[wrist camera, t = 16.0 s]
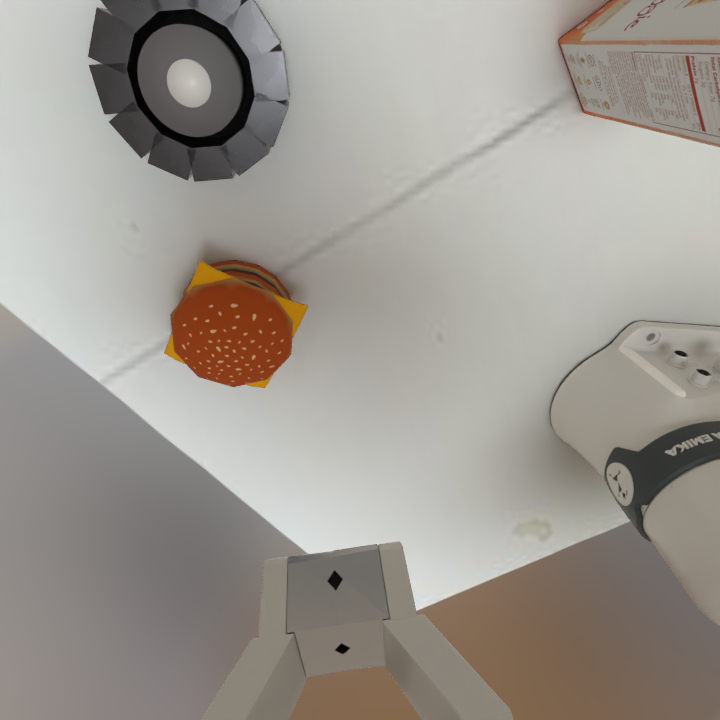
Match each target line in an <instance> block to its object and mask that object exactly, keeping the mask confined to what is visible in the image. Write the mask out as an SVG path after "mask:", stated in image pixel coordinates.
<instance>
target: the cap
mask: <svg viewBox="0 0 720 720" xmlns="http://www.w3.org/2000/svg"><path fill="white" fill-rule="evenodd" d="M137 73H138V82H139V86H140V90H141V93H142V95H143V97H144V100H145V102H146V103H147V105H148V107H149V108H150V110H151V111H152V112H153V114H154V115H155V116H156V117H157V118H158V119H159V120H160V121H161V122H162V123H163V124H164V125H166V126H167V127H169V128H170V129H172V130H174V131H175V132H178V133H180V134H183V135H187V136H192V137H204V136H209V135H212V134H215V133H217V132H219V131H220V130H222V129H223V128H224V127H225V126H226V125H227V124H228V123H229V122H230V121H231V120H232V119H233V118H234V116H235V115H236V114H237V113H238V111H239V110H240V108H241V107H242V105H243V102H244V99H245V95H246V89H247V80H246V73H245V69H244V66H243V63H242V61H241V59H240V57H239V55H238V53H237V52H236V50H235V49H234V47H233V46H232V45H231V44H230V43H229V42H228V41H227V40H226V39H225V38H224V37H223V36H221V35H220V34H218V33H217V32H215V31H213V30H210V29H208V28H204V27H199V26H193V25H186V24H173V25H168V26H165V27H162V28H160V29H159V30H157V31H156V32H154V33H153V34H152V35H151V36H150V37H149V38H148V39H147V40H146V42H145V44H144V45H143V47H142V49H141V52H140V55H139V59H138V71H137Z"/></svg>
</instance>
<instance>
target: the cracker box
mask: <svg viewBox="0 0 720 720" xmlns="http://www.w3.org/2000/svg"><path fill="white" fill-rule="evenodd" d="M559 44H560V47H561V49H562V52H563V55H564V58H565V61H566V64H567V66H568V69H569V72H570V75H571V78H572V80H573V83H574V86H575V89H576V91H577V94H578V97H579V100H580V102H581V105H582V108H583V111H584V113H585V114H589V115H593V116H597V117H600V118H604V119H609V120H613V121H617V122H621V123H625V124H629V125H632V126H636V127H640V128H644V129H648V130H652V131H656V132H660V133H664V134H669V135H673V136H677V137H680V138H684V139H688V140H692V141H696V142H700V143H704V144H708V145H712V146H716V147H720V0H611V1H610V2H609V3H607V4H606V5H605V6H603V7H602V8H601V9H599V10H598V11H596V12H595V13H594V14H592V15H591V16H590V17H588V18H587V19H586V20H584V21H583V22H582V23H580V24H579V25H578V26H576V27H575V28H573V29H572V30H571V31H569V32H568V33H567V34H565V35H564V36H563V37H561V38H560V39H559Z"/></svg>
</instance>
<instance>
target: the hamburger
mask: <svg viewBox="0 0 720 720" xmlns="http://www.w3.org/2000/svg"><path fill="white" fill-rule="evenodd" d="M307 308H308V305H304V304H300V303H296V302H293V301H291V300H290V298H289V294H288V293H287V291H286V290H285V288H284V287H283V286H282V284H281V283H280V281H279V280H278V279H277V277H276V276H274V275H273V274H271V273H269V272H268V271H266V270H265V269H263V268H262V267H260V266H259V265H255V264H250V263H246V262H241V261H237V260H234V261H227V262H220V263H214V264H212V265H211V266H210V265H208V264H206V263H204V262H203V261H201V260H200V261H199V264H198V266H197V269H196V271H195V274H194V276H193V279H192V281H191V282H190V284H189V285H188V287H187V288H186V290H185V291H184V296H183V298H182V300H181V301H180V303H179V305H178V306H177V307H176V308H175V310H174V311H173V312H172V313H171V325H172V333H171V336H170V339H169V341H168V344H167V347H166V349H165V352H164V353H165V354H167V355H168V356H170V357H172V358H174V359H175V360H177V361H179V362H182V363H185V364H187V365H188V366H189V368H190V369H191V370H192V371H193V372H194V373H195V374H196V375H197V376H198V377H200V378H204V379H207V380H211V381H214V382H218V383H221V384H225V385H228V386H232V387H236V386H240V385H245V384H246V385H249V386H254V387H261V388H265V387H266V385H267V384H268V382H269V380H270V379H271V377H272V375H273V373H274V372H275V371H276V370H277V369H278V368H279V367H280V366H281V365H282V364H283V363H284V362H285V361H286V360H287V359H288V358H289V356H290V355H291V349H292V338H293V336H294V334H295V332H296V330H297V328H298V326H299V324H300V322H301V320H302V318H303V316H304V314H305V312H306V310H307Z"/></svg>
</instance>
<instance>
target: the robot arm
mask: <svg viewBox="0 0 720 720" xmlns="http://www.w3.org/2000/svg"><path fill="white" fill-rule="evenodd" d="M649 334H650V335H649ZM648 335H649V336H648ZM551 423H552V427H553V429H554V431H555V432H556V434H557V435H558V436H559V437H560V438H561V439H562V440H563V441H565V442H566V443H567V444H569V445H570V446H571V447H572V448H574V449H575V450H576V451H577V452H578V453H579V454H580V455H582V456H583V457H584V458H585V459H586V460H587V461H588V462H589V463H590V464H591V465H592V466H593V467H594V468H595V470H596V471H597V472H598V473H599V474H600V475H601V476H602V477H603V478H604V480H605V481H606V483H607V485H608V487H609V489H610V490H611V492H612V494H613V496H614V497H615V499H616V501H617V502H618V504H619V505H620V507H621V508H622V510H623V511H624V512H625V514H626V515H627V517H628V518H629V519H630V521H631V522H632V523H633V524H634V526H635V527H636V528H637V530H638V531H639V533H640V534H641V535H642V536H643V537H644V538H645V539H647V540H648V541H651V542H653V544H654V545H655V547H656V548H657V550H658V551H659V552H660V554H661V555H662V557H663V558H664V559H665V561H666V562H667V563H668V565H669V567H670V568H671V570H672V571H673V572H674V574H675V575H676V577H677V578H678V579H679V581H680V582H681V584H682V585H683V587H684V588H685V589H686V591H687V592H688V594H689V595H690V596H691V598H692V599H693V601H694V602H695V604H696V605H697V606H698V608H699V609H700V610H701V611H702V612H703V613H704V614H705V615H706V616H707V617H708V618H709V619H711V620H712V621H713V622H714V623H716V624H717V625H718V626H720V327H715V326H702V325H688V324H674V323H660V322H647V321H638V322H635V323H633V324H631V325H630V326H628V327H627V328H626V329H625V330H624V331H623V332H622V333H621V334H620V335H619V336H618V337H617V338H616V339H615V340H614V341H613V342H612V343H611V344H610V345H609V346H608V347H606V348H605V349H603V350H602V351H600V352H599V353H597V354H595V355H594V356H592V357H590V358H589V359H587V360H586V361H585V362H583V363H582V364H581V365H579V366H578V367H577V368H576V369H575V370H574V371H573V372H572V373H571V374H570V375H569V376H568V377H567V378H566V379H565V381H564V382H563V383H562V385H561V386H560V388H559V390H558V391H557V393H556V395H555V398H554V400H553V403H552V407H551ZM260 607H261V608H260V622H259V637H258V638H256V639H251V641H250V642H249V644H248V645H247V647H246V649H245V650H244V652H243V653H242V655H241V657H240V658H239V660H238V662H237V663H236V665H235V666H234V668H233V670H232V671H231V673H230V674H229V676H228V678H227V679H226V681H225V682H224V684H223V685H222V687H221V688H220V690H219V692H218V693H217V695H216V696H215V698H214V700H213V701H212V703H211V704H210V706H209V708H208V709H207V711H206V712H205V714H204V716H203V717H202V719H201V720H288V719H289V718H290V715H291V713H292V711H293V709H294V706H295V704H296V702H297V700H298V697H299V695H300V693H301V691H302V689H303V687H304V684H305V682H306V677H310V676H316V675H321V674H327V673H333V672H338V671H344V670H351V669H360V668H368V667H376V666H385V665H386V668H387V670H388V672H389V673H390V674H391V676H392V677H393V679H394V680H395V682H396V683H397V684H398V686H399V687H400V689H401V690H402V692H403V693H404V695H405V696H406V698H407V699H408V700H409V702H410V703H411V705H412V706H413V708H414V709H415V710H416V712H417V713H418V715H419V716H420V718H421V719H422V720H513V717H512V714H511V711H510V709H509V708H508V707H507V706H506V705H505V704H504V702H503V701H502V700H501V699H500V698H499V697H498V696H497V695H496V694H495V693H494V691H493V690H492V689H491V688H490V687H489V686H488V685H487V684H486V683H485V681H484V680H483V679H482V678H481V677H480V676H479V675H478V674H477V673H476V672H475V670H474V669H472V667H471V666H470V665H469V664H468V663H467V662H466V660H465V659H464V658H463V657H462V656H461V655H460V654H459V653H458V652H457V651H456V649H455V648H454V647H453V646H452V645H451V644H450V643H449V642H448V641H447V640H446V638H445V637H444V636H443V635H442V634H441V633H440V632H439V631H438V630H437V629H436V627H434V625H433V624H432V623H431V622H430V621H429V620H428V619H427V617H425V615H417V613H416V608H415V603H414V598H413V594H412V589H411V584H410V579H409V575H408V570H407V565H406V560H405V556H404V551H403V546H402V544H401V543H400V541H398V542H392V543H385V544H379V545H378V546H377V544H374V545H367V546H360V547H354V548H347V549H341V550H334V551H330V552H322V553H315V554H307V555H299V556H291V557H281V558H273V559H266V560H265V562H264V567H263V576H262V591H261V606H260Z"/></svg>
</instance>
